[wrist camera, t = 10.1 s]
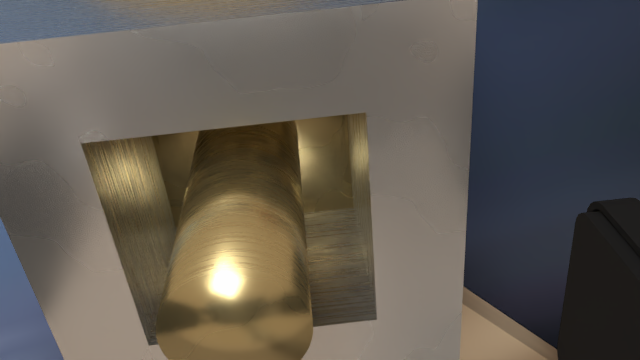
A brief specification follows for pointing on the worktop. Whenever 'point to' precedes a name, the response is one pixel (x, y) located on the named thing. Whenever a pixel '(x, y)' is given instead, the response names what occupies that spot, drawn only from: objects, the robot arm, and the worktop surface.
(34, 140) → the square hollow frame
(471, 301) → the stand
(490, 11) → the worktop surface
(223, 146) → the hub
